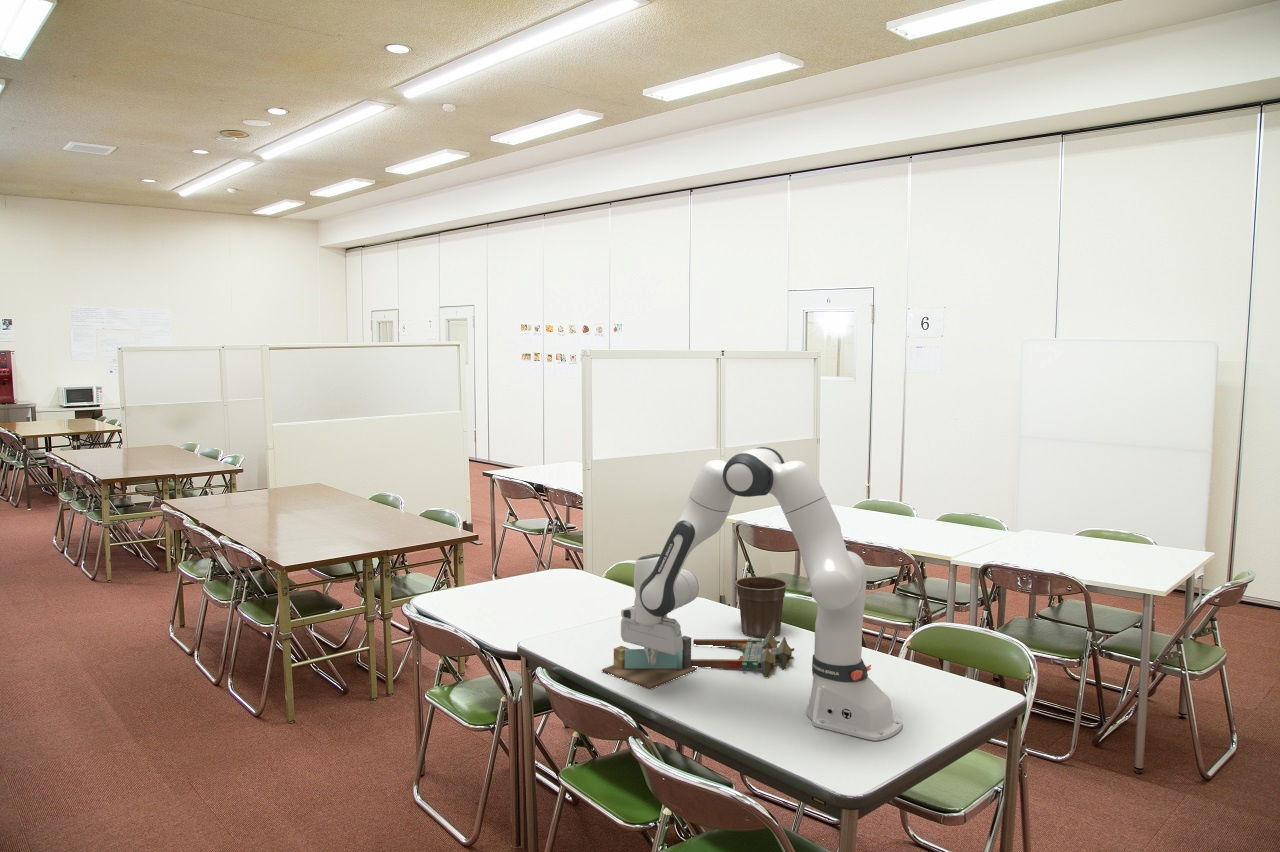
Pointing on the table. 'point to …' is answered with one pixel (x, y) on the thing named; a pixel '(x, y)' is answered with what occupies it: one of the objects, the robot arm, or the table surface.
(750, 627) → the plant pot
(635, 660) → the gate
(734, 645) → the miniature gate
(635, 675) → the gate frame
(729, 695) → the table surface
